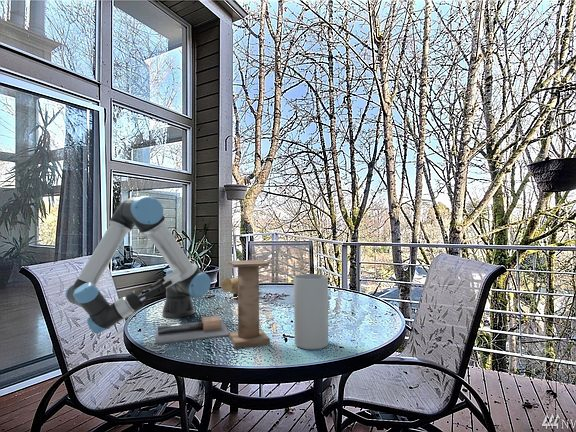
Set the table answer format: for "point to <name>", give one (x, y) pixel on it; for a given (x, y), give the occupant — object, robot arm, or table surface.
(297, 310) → the cylinder vase
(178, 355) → the table surface
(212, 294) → the table surface
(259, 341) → the bobbin stand
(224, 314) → the table surface
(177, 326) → the wooden mallet
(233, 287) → the decorative spool
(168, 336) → the rubber mat
